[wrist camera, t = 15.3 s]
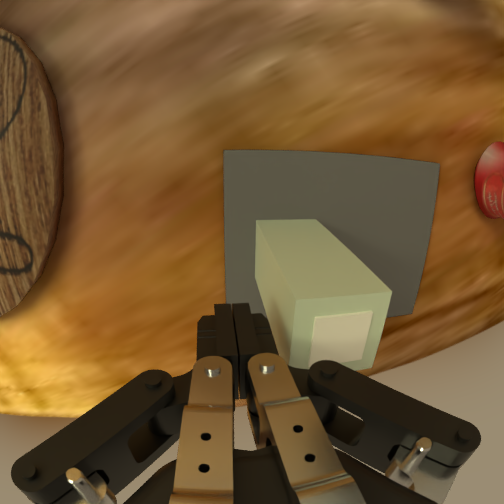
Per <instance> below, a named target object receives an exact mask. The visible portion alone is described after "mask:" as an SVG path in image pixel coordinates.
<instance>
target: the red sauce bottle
mask: <svg viewBox="0 0 504 504" xmlns="http://www.w3.org/2000/svg"><path fill="white" fill-rule="evenodd" d="M474 185H475V191H476V197H477V201H478V204H479V207H480V209H481V211H482V212H483V213H484V215H486V216H487V217H489V218H491V219H496V218H500V217H501V218H503V219H504V142H495V143H492V144H491V145H490V146H489V147H488V148H487V149H486V150H485V151H484V153H483V155H482V156H481V158H480V159H479V161H478V163H477V166H476V169H475V174H474Z"/></svg>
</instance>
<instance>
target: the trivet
mask: <svg viewBox="0 0 504 504" xmlns="http://www.w3.org/2000/svg"><path fill="white" fill-rule="evenodd" d="M63 166H64V144H63V139H62V133H61V127H60V121H59V115H58V108H57V101H56V98H55V96H54V93H53V91H52V88H51V86H50V83H49V81H48V78H47V75H46V73H45V70H44V67H43V65H42V63H41V61H40V60H39V59H38V58H37V56H36V55H35V54H34V53H33V51H32V50H31V49H30V48H29V47H28V45H27V44H26V43H25V41H24V40H23V39H22V38H20V37H19V36H17V35H15V34H13V33H11V32H9V31H7V30H5V29H3V28H1V27H0V317H1V316H2V315H4V314H5V313H7V312H9V311H10V310H12V309H14V308H15V307H16V306H17V305H18V304H19V303H20V302H21V301H22V299H23V298H24V297H25V296H26V294H27V293H28V292H29V290H30V289H31V288H32V286H33V285H34V284H35V283H36V281H37V280H38V279H39V277H40V276H41V275H42V273H43V271H44V268H45V265H46V263H47V260H48V258H49V255H50V253H51V250H52V248H53V245H54V243H55V240H56V236H57V230H58V223H59V217H60V212H61V206H62V201H63V196H64V186H63Z"/></svg>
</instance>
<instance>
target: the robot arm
mask: <svg viewBox="0 0 504 504" xmlns="http://www.w3.org/2000/svg"><path fill="white" fill-rule="evenodd" d="M214 308H215V315H210V316H202V317H201V319H200V320H199V321H198V327H197V361H196V363H195V364H194V366H193V369H192V370H191V371H190V372H188V373H186V374H184V375H181V376H177V377H173V378H172V377H171V375H170V374H169V373H167V372H165V371H162V370H148V371H145V372H143V373H141V374H139V375H138V376H137V377H135V378H134V379H133V380H131V381H130V382H128V383H127V384H126V385H124V386H123V387H121V388H120V389H119V390H117V391H116V392H114V393H113V394H112V395H110V396H109V397H107V398H106V399H105V400H103V401H102V402H100V403H99V404H98V405H96V406H95V407H93V408H92V409H91V410H89V411H88V412H86V413H85V414H83V415H82V416H81V417H79V418H78V419H76V420H75V421H73V422H72V423H70V424H69V425H68V426H66V427H65V428H63V429H62V430H60V431H59V432H58V433H56V434H55V435H53V436H52V437H50V438H49V439H47V440H46V441H44V442H43V443H41V444H40V445H38V446H37V447H35V448H34V449H32V450H31V451H30V452H28V453H26V454H25V455H24V456H22V457H20V458H19V459H18V460H16V462H15V463H14V464H13V466H12V470H11V477H12V480H13V482H14V484H15V485H16V486H17V487H18V488H19V489H20V490H21V491H22V492H23V493H24V494H25V495H26V496H27V497H28V499H29V500H30V501H31V502H32V503H34V504H117V500H116V497H115V495H116V494H117V493H119V492H120V491H121V490H122V489H123V488H125V487H126V486H127V485H128V484H129V483H130V482H132V481H133V480H134V479H135V478H136V477H137V476H139V475H140V474H141V473H142V472H143V471H144V470H145V469H146V468H147V467H149V466H150V465H151V464H152V463H153V462H154V461H155V460H157V458H159V457H160V456H161V455H162V454H163V453H164V452H165V451H166V450H168V449H169V448H170V447H171V446H172V445H173V444H174V443H175V442H176V441H177V440H178V439H179V446H178V454H177V459H176V460H174V461H171V462H170V463H168V464H166V465H164V466H163V467H162V468H160V469H159V470H158V471H157V472H156V473H155V474H154V475H152V477H151V478H149V479H148V480H147V481H146V483H144V484H143V485H142V486H141V487H140V488H139V489H138V490H137V491H136V492H135V493H134V494H133V495H132V496H131V497H130V498H129V499H128V500H126V502H124V503H123V504H443V502H444V500H445V498H446V496H447V494H448V492H449V490H450V488H451V486H452V484H453V481H454V479H455V477H456V475H457V473H458V470H459V469H460V468H461V467H462V466H463V465H464V463H465V462H466V461H467V460H468V459H469V457H470V456H471V455H472V454H473V452H474V451H475V450H476V449H477V448H478V446H479V445H480V442H481V435H480V432H479V430H478V429H477V428H476V427H475V426H474V425H473V424H471V423H470V422H467V421H465V420H462V419H460V418H457V417H455V416H453V415H450V414H448V413H446V412H443V411H441V410H439V409H436V408H434V407H432V406H429V405H427V404H425V403H423V402H420V401H418V400H416V399H414V398H412V397H409V396H407V395H405V394H403V393H401V392H398V391H396V390H394V389H392V388H390V387H388V386H386V385H383V384H381V383H379V382H377V381H375V380H373V379H371V378H369V377H367V376H365V375H362V374H360V373H358V372H356V371H354V370H352V369H350V368H348V367H346V366H344V365H342V364H340V363H338V362H336V361H332V360H321V361H317V362H315V363H314V364H312V365H311V367H310V369H301V368H295V367H292V366H289V365H287V364H286V362H285V360H284V359H283V358H282V357H280V356H279V354H278V350H277V347H276V344H275V340H274V337H273V334H272V331H271V328H270V324H269V321H268V319H267V318H266V317H265V316H264V315H263V314H262V313H253V314H251V310H250V306H249V303H232V309H231V303H229V304H214ZM238 386H239V393H240V399H246V400H247V415H248V419H249V422H250V426H251V430H252V434H253V437H254V441H255V444H256V448H257V450H254V451H247V450H238V449H234V411H235V399H239V395H238ZM338 406H340V407H342V408H344V409H346V410H347V411H349V412H351V413H353V414H355V415H357V416H359V417H360V418H361V419H363V421H362V420H360V419H358V418H356V417H354V416H353V415H351V414H349V413H347V412H345V411H343V410H341V409H340V408H338ZM332 445H333V446H335V447H337V448H339V449H340V450H342V451H344V452H346V453H348V454H349V455H348V454H346V453H344V452H342V451H340V450H337V449H334V448H333V446H332ZM350 455H351V456H353V457H355V458H356V459H358V460H360V461H362V462H364V463H366V464H368V465H369V466H371V467H373V468H375V469H377V470H379V471H381V472H383V473H385V476H384V475H382V474H381V473H379V472H377V471H375V470H373V469H372V468H370V467H368V466H366V465H365V464H363V463H361V462H360V461H358V460H356V459H354V458H352V457H351V456H350Z"/></svg>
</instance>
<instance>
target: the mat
mask: <svg viewBox="0 0 504 504" xmlns="http://www.w3.org/2000/svg"><path fill="white" fill-rule="evenodd" d="M439 168H440V164H438V163H433V162H425V161H418V160H410V159H402V158H393V157H383V156H373V155H361V154H349V153H334V152H316V151H292V150H224V241H225V283H226V304H229V303H231V309H232V303H249V306H250V310H251V314H253V313H262V314H263V315H264V316H265V317H266V318H267V314H266V311H265V308H264V305H263V301H262V298H261V295H260V292H259V289H258V285H257V282H256V279H255V249H256V220H293V219H316V220H317V221H319V222H320V223H321V224H322V225H323V226H324V227H325V228H326V229H327V230H329V231H330V232H331V233H332V234H333V235H334V236H335V237H336V238H337V239H338V240H339V241H340V242H342V243H343V244H344V245H345V246H346V247H347V248H348V249H349V250H350V251H351V252H352V253H353V254H354V255H355V256H356V257H357V258H359V259H360V260H361V261H362V262H363V263H364V264H365V265H366V266H367V267H368V268H369V269H370V270H371V271H372V272H373V273H374V274H375V275H376V276H377V277H378V278H379V279H380V280H381V281H382V282H383V283H384V284H385V285H386V286H387V287H388V288H389V289H390V290H391V291H392V295H391V299H390V303H389V307H388V312H387V316H386V318H387V317H394V316H400V315H407V314H412V312H413V308H414V304H415V301H416V297H417V293H418V289H419V285H420V281H421V277H422V272H423V268H424V263H425V259H426V254H427V249H428V244H429V238H430V233H431V227H432V221H433V215H434V209H435V202H436V194H437V186H438V178H439ZM267 319H268V318H267ZM270 328H271V327H270Z"/></svg>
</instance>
